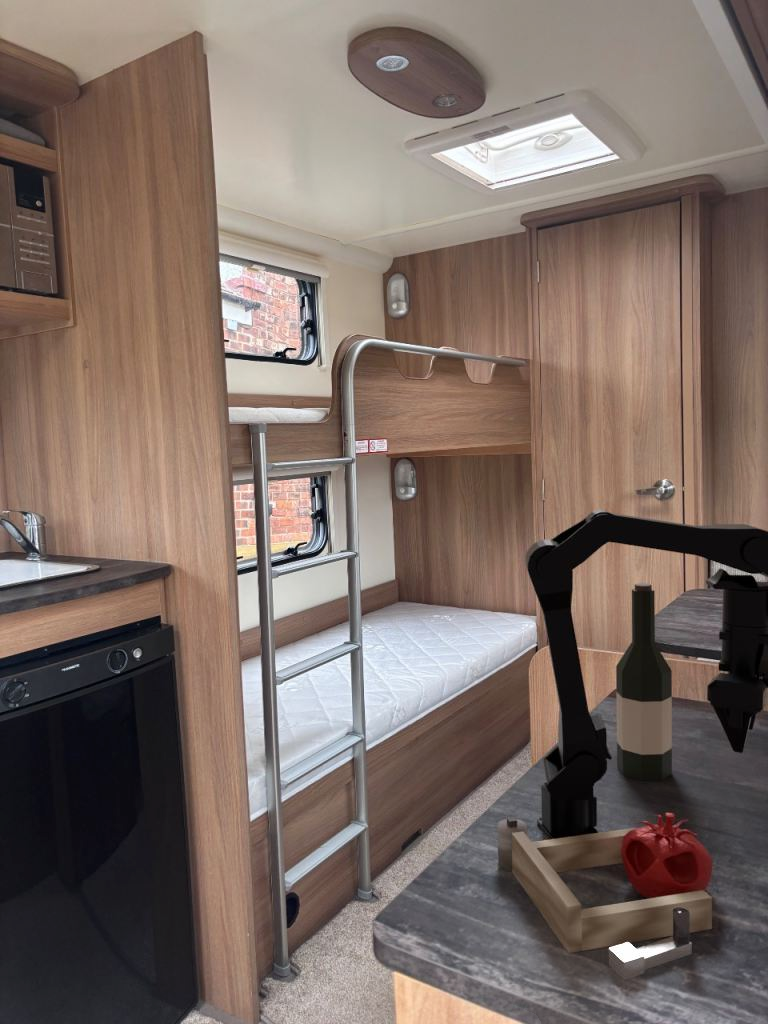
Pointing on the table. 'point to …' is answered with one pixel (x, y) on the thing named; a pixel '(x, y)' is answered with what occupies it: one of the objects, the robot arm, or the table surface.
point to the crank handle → (653, 949)
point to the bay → (563, 910)
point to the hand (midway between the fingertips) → (743, 740)
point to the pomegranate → (665, 859)
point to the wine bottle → (644, 697)
